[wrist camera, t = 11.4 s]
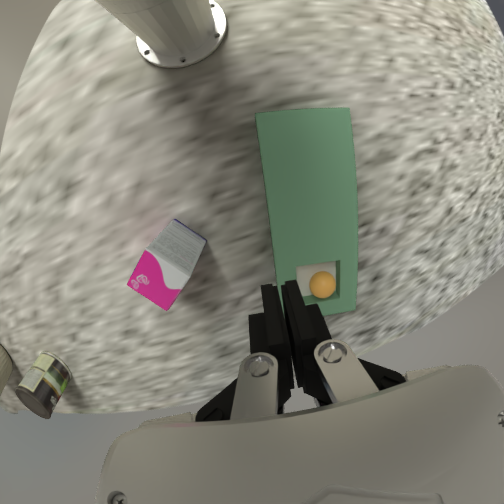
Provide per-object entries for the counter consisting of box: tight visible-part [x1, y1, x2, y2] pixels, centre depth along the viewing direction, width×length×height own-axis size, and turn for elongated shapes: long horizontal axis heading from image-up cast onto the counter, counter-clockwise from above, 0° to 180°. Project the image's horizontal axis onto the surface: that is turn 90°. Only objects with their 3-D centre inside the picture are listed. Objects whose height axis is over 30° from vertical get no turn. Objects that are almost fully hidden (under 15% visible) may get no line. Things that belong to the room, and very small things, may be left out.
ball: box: [309, 271, 336, 298], centre depth 39 cm, size 4×4×4 cm
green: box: [255, 108, 358, 318], centre depth 36 cm, size 30×12×2 cm, turn 8°
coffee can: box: [15, 351, 71, 419], centre depth 43 cm, size 10×10×14 cm
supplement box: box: [127, 219, 207, 311], centre depth 33 cm, size 6×6×12 cm
